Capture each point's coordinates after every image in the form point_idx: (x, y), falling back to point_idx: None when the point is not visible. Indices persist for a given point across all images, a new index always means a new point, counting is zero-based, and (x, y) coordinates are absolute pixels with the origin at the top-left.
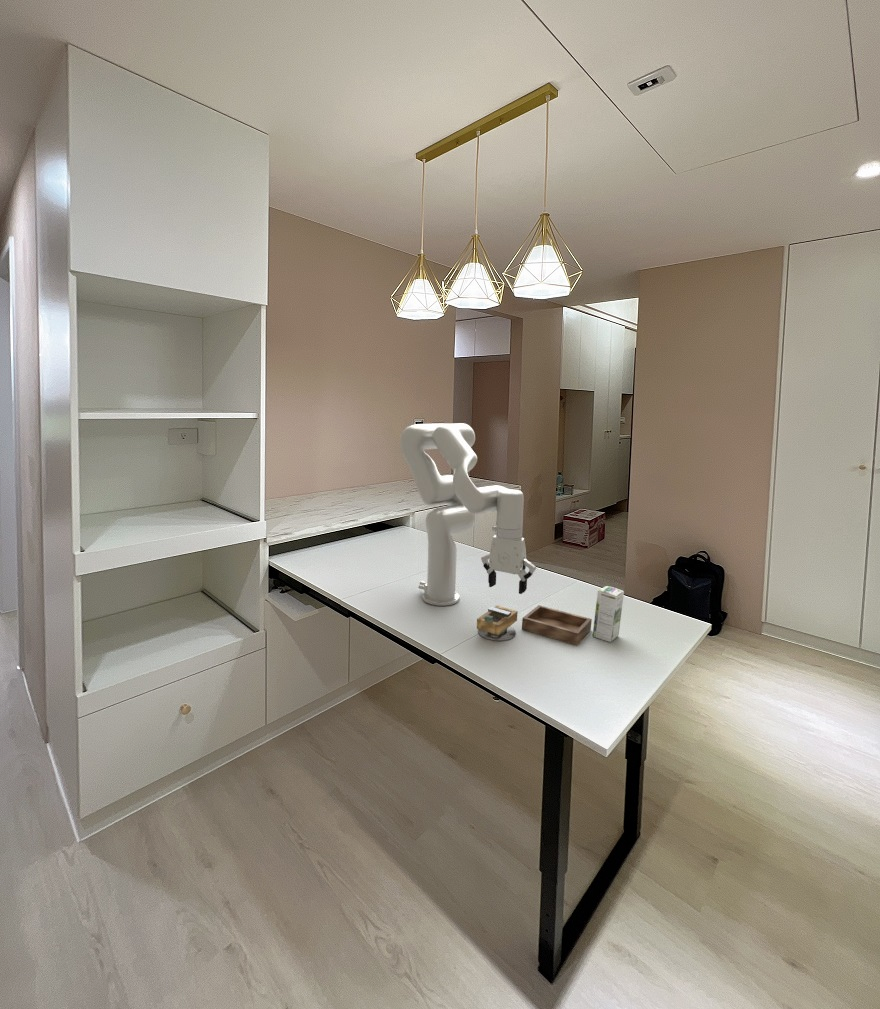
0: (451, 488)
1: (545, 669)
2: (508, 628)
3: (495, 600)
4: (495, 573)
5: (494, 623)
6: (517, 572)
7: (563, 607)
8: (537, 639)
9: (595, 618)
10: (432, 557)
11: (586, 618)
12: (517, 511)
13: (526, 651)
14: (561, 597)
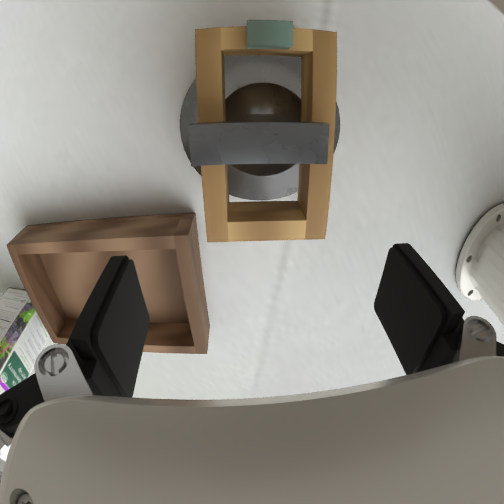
0: None
1: (15, 37)
2: (233, 177)
3: (364, 334)
4: (412, 366)
5: (227, 32)
6: (31, 415)
7: (187, 386)
8: (110, 178)
9: (13, 327)
10: None
11: (61, 340)
12: None
13: (93, 72)
14: None
